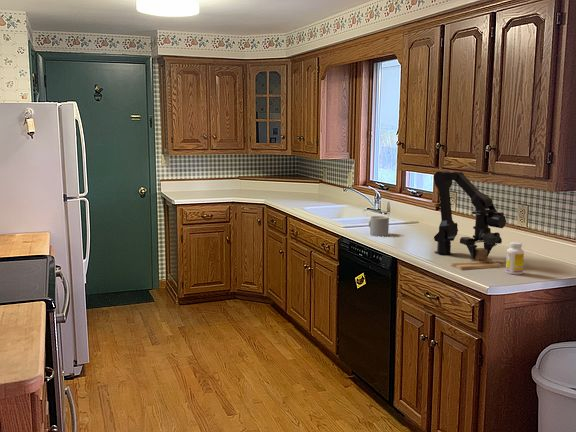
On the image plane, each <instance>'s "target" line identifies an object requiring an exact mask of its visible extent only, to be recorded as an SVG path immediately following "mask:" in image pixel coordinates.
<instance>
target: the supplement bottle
mask: <svg viewBox="0 0 576 432" xmlns="http://www.w3.org/2000/svg"><path fill="white" fill-rule="evenodd" d="M522 247H523V243H521V242H517V241H511V242H509V248H507V250H506V259H505V273H506V274H509V275H515V276H516V275H517V276H518V275H522V274H523V272H524V271H523V269H524V256H525V254H524V253H525V250H524V249H522Z"/></svg>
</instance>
